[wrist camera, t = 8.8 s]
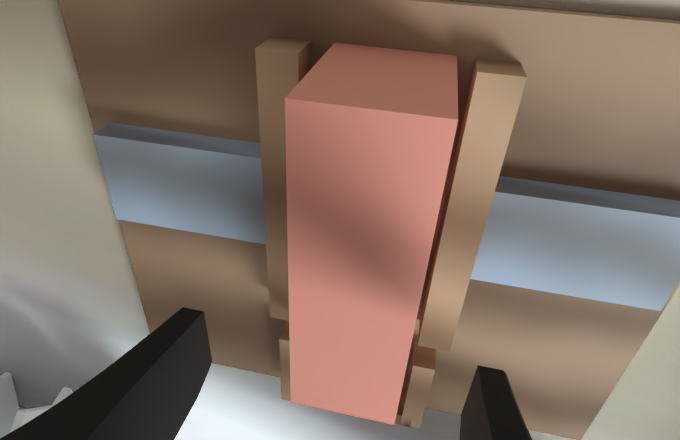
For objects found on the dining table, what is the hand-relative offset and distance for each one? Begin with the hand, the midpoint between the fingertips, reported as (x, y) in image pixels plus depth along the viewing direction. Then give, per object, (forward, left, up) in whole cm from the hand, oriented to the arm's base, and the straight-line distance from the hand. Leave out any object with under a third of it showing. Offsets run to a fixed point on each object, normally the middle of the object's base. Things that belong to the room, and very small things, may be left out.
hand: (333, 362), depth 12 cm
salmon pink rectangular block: (0, 0, -8) cm, 8 cm away
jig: (-2, 0, -8) cm, 9 cm away
